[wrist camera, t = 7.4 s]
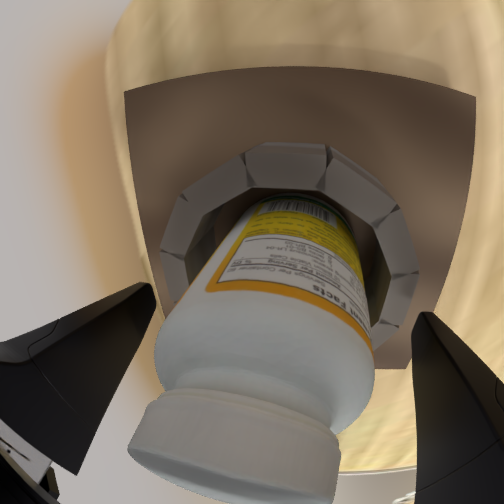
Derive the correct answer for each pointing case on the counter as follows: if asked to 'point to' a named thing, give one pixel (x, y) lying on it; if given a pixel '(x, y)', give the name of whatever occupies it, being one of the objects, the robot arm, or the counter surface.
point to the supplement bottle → (263, 361)
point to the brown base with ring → (308, 174)
